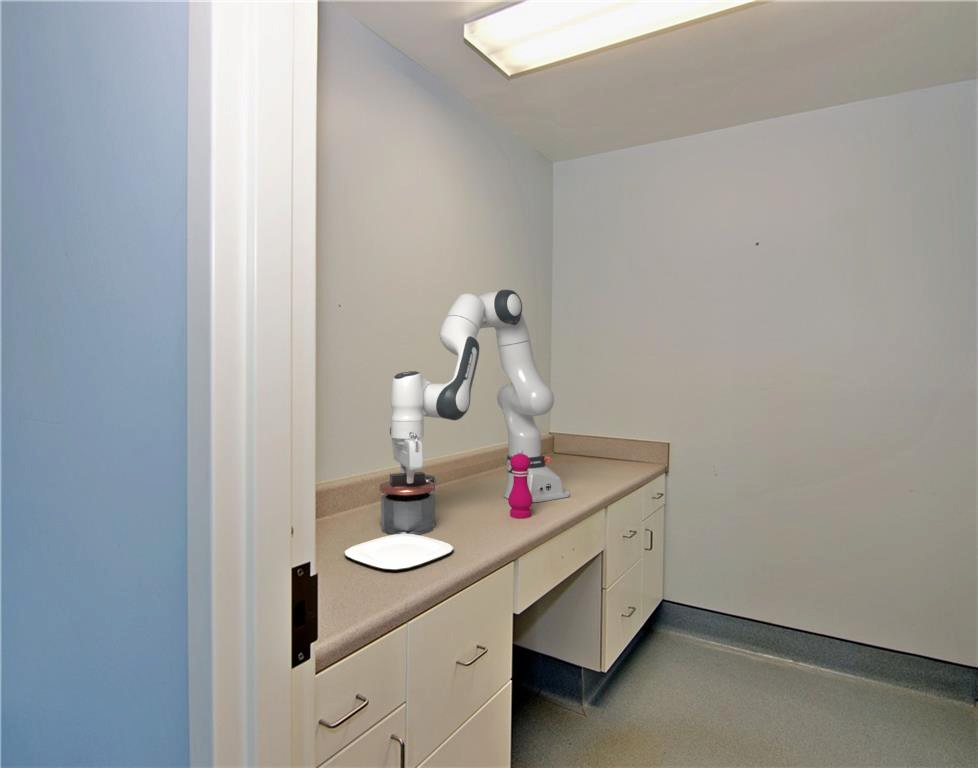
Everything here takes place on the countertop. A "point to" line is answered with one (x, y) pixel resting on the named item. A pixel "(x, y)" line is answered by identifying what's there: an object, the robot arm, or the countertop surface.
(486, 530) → the countertop surface
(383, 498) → the pot
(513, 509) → the pepper mill
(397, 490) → the lid
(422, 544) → the plate
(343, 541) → the countertop surface
